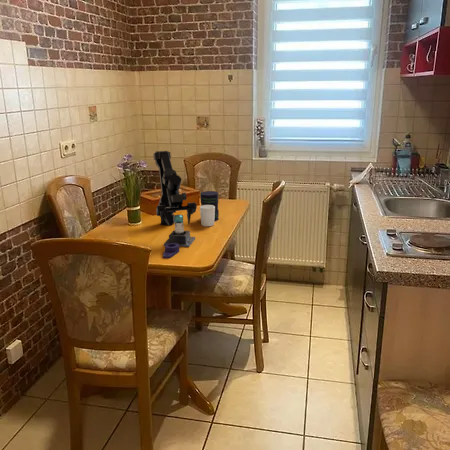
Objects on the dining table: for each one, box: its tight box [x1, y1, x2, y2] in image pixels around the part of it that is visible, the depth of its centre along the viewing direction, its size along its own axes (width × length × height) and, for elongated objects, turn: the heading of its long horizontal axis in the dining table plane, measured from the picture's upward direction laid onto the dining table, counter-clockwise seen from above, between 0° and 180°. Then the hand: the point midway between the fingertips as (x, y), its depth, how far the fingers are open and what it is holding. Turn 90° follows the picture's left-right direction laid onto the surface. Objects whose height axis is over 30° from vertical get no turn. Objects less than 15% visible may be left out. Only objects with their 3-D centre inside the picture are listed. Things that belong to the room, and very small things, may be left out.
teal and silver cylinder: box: [174, 214, 185, 235], centre depth 215 cm, size 4×4×12 cm
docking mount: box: [163, 229, 196, 248], centre depth 217 cm, size 12×12×4 cm
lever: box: [162, 243, 180, 260], centre depth 202 cm, size 12×6×3 cm, turn 169°
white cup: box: [199, 205, 215, 227], centre depth 243 cm, size 8×8×10 cm
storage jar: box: [200, 190, 220, 223], centre depth 252 cm, size 10×10×15 cm
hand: (179, 224), depth 214 cm, fingers open, 9 cm apart
